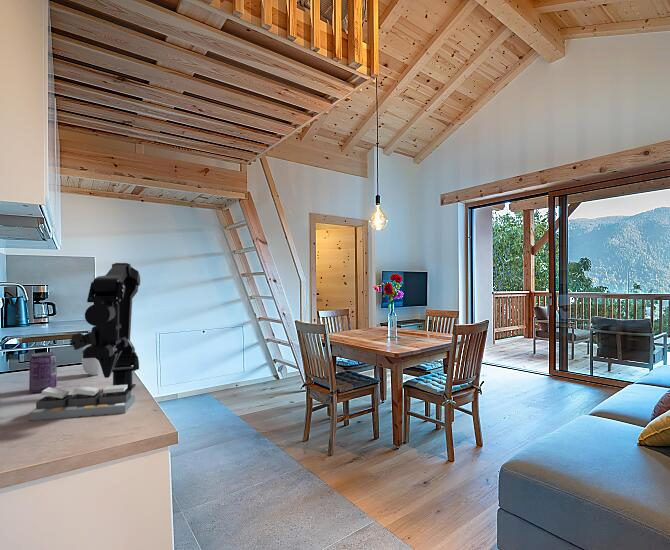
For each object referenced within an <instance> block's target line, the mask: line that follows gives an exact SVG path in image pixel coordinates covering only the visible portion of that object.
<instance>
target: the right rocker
mask: <svg viewBox="0 0 670 550" xmlns="http://www.w3.org/2000/svg"><path fill="white" fill-rule="evenodd" d="M127 388H128V384H127V385H114V386H113V385H107V386H106V387H105V388H103V391H102V394H104V393H112V392H124V391H125V390H126V389H127Z"/></svg>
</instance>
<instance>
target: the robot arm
mask: <svg viewBox="0 0 670 550" xmlns="http://www.w3.org/2000/svg"><path fill="white" fill-rule="evenodd" d="M140 285H141V275H140V273H139V270H137V269H135V268H133V267H132V266H131V263H128V262H115V263H112V264H111V268H109V270H108V272H107V273H106V274H105V275H99V276H96V277H95V278H94V279H93V281H91V282H90V285H89V286H90V287H89V291H88V295H87V300H86V302H87V303H93V304H91V305H90V306H89V307H87V309H86V310H85V312H84V319H85V321H86V322H87V323H88V324H89V325H91V326H93V327H92V328H91V332H89V333H86V334H82V333H81V332H78V333H75V334H73V335H71V339H69V342H70V343H69V346H70V347H73V349H74V351H77V350H80V349H81V348H83V349H84V346H86V345H89V344H91V346H89V347H87V348H85V349H84V350H82V353H83V358H96V359H97V360H98V361H99V363H100V365H101V368H102V371H101V372H102V374H103V376H104V379H108V378H110V376H111V374H112V386H114V385H127V384H128V388H127V389H126V390H125V391H132V390H133V389H134V388H135V387H136V383H133V372H136V371H138V370H140V360H139V356H138V355H137V354H138V353H137V352H136V348H135V346H134V345H133V343H132V341H131V331H132V315H133V314H132V312H133V311H132V310H133V298H134V297H135V296H136V294H137V293H138V292H139V286H140Z"/></svg>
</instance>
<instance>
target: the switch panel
mask: <svg viewBox="0 0 670 550" xmlns="http://www.w3.org/2000/svg"><path fill="white" fill-rule="evenodd" d="M135 401H136V394H132V390H130V391H124V392H112V393H103V392H98V393H96V394H95V395H94V396H92V395H84V394H76V393H75V395H73V394H68V395H67V396H65V397H64V398H57V397H52V396H46V395H44V397H42V398H40V399H39V400H37V401H36V402H35V408H34V409H33V410H32V411H30V412H28V421H29V420H32V421H42V419H45V420H56V419H68V418H80V417H79V416H82V417H92V416H91V415H95V416H104V414H105V416H106V414H107V415H119V414H126V413H127V411H129V409H130V408H131V407H132V406H133V404H134V403H135Z"/></svg>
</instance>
